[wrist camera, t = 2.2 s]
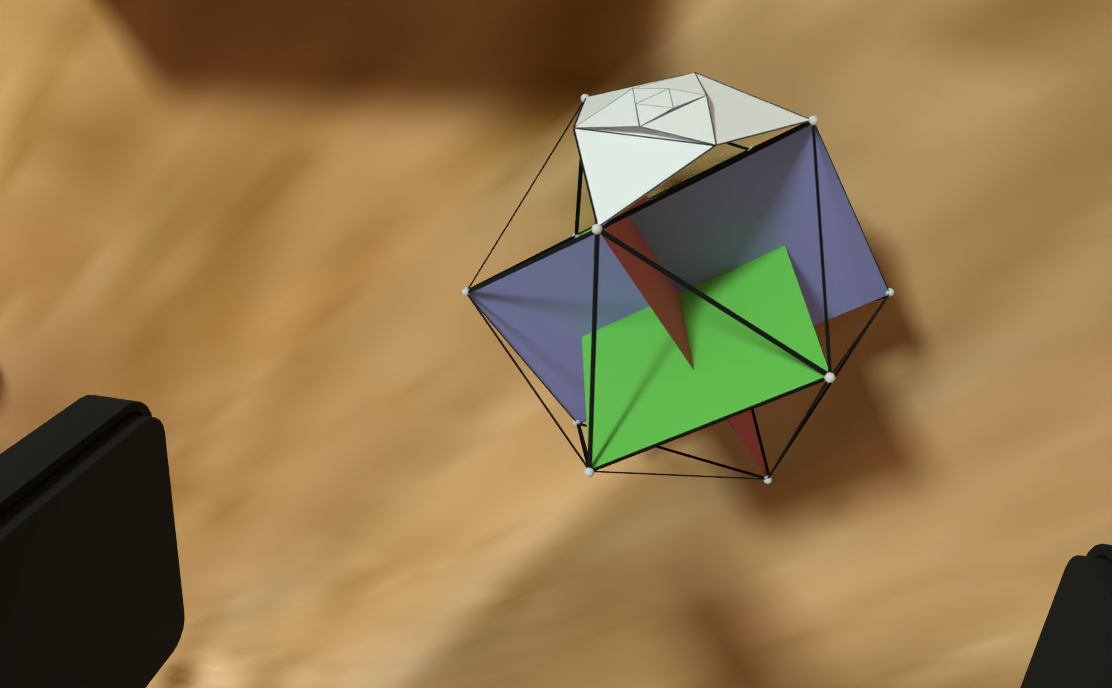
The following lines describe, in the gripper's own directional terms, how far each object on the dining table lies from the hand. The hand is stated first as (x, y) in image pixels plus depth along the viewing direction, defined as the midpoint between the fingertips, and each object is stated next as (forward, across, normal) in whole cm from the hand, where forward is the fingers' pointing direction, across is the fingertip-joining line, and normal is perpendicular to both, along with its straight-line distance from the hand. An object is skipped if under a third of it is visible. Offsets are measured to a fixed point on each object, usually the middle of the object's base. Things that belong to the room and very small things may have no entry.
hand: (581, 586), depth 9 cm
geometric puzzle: (+12, -1, 0) cm, 12 cm away
